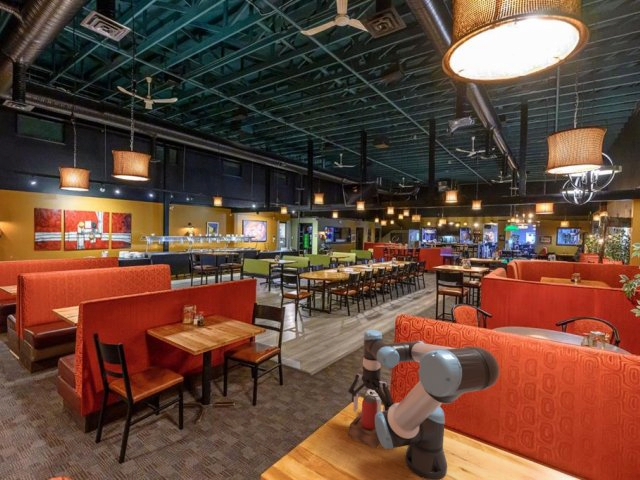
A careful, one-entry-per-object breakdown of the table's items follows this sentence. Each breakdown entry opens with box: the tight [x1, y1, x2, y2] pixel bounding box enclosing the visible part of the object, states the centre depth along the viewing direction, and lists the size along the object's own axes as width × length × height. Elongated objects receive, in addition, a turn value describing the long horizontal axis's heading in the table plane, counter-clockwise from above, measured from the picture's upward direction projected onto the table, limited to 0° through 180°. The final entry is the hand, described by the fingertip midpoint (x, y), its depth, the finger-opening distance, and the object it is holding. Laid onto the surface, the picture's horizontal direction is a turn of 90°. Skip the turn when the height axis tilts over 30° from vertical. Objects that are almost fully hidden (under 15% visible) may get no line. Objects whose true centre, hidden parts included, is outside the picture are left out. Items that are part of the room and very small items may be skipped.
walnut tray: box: [348, 411, 381, 450], centre depth 137 cm, size 13×13×5 cm
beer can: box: [361, 395, 378, 430], centre depth 136 cm, size 7×7×12 cm
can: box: [365, 389, 382, 413], centre depth 150 cm, size 8×8×12 cm
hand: (369, 415), depth 136 cm, fingers open, 13 cm apart
